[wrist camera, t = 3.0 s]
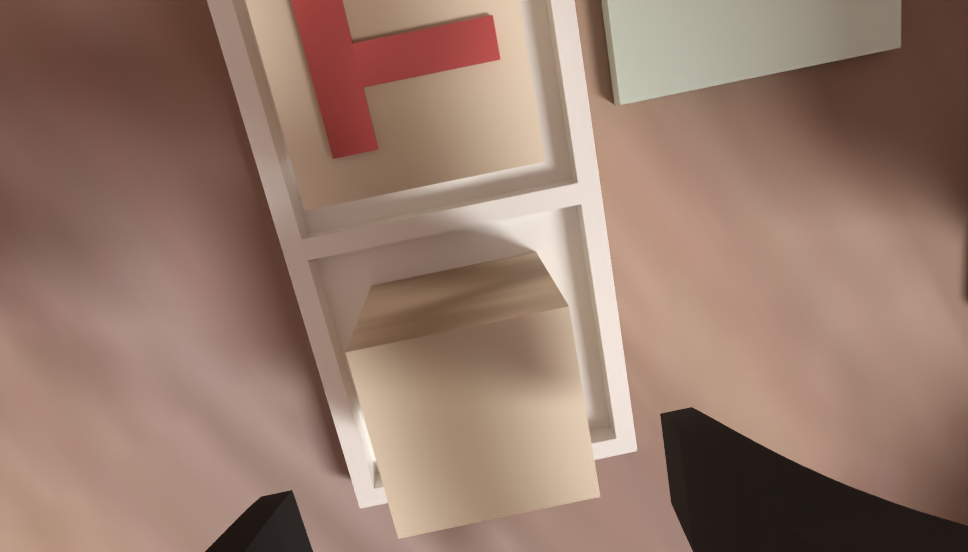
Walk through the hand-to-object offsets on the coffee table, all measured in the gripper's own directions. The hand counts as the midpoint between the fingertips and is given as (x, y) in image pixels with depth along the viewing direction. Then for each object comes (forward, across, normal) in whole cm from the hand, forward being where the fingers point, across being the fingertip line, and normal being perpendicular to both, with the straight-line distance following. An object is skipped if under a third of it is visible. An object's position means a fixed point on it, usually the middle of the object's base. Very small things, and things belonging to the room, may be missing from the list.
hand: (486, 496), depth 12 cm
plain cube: (+8, 0, 0) cm, 8 cm away
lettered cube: (+8, 0, -8) cm, 11 cm away
